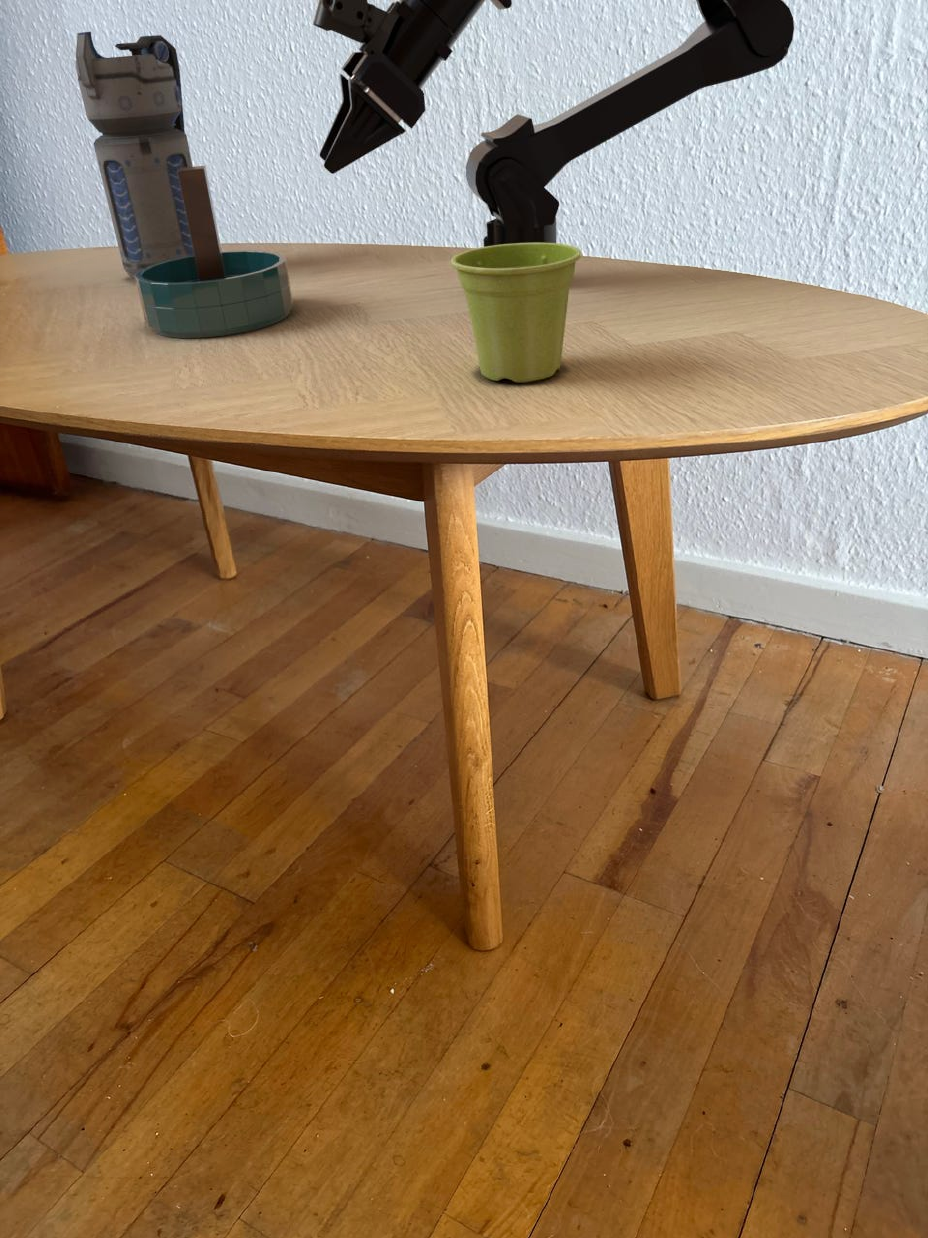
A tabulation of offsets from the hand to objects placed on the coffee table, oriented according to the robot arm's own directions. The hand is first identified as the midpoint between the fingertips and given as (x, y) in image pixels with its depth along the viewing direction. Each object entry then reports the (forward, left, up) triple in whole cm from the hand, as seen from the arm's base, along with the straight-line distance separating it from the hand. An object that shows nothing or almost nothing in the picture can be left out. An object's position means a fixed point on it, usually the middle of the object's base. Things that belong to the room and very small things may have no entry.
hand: (325, 164), depth 90 cm
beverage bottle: (+30, -8, -13) cm, 34 cm away
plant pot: (-27, +15, -13) cm, 33 cm away
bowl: (+9, +8, -13) cm, 18 cm away
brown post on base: (+9, +8, -12) cm, 17 cm away
